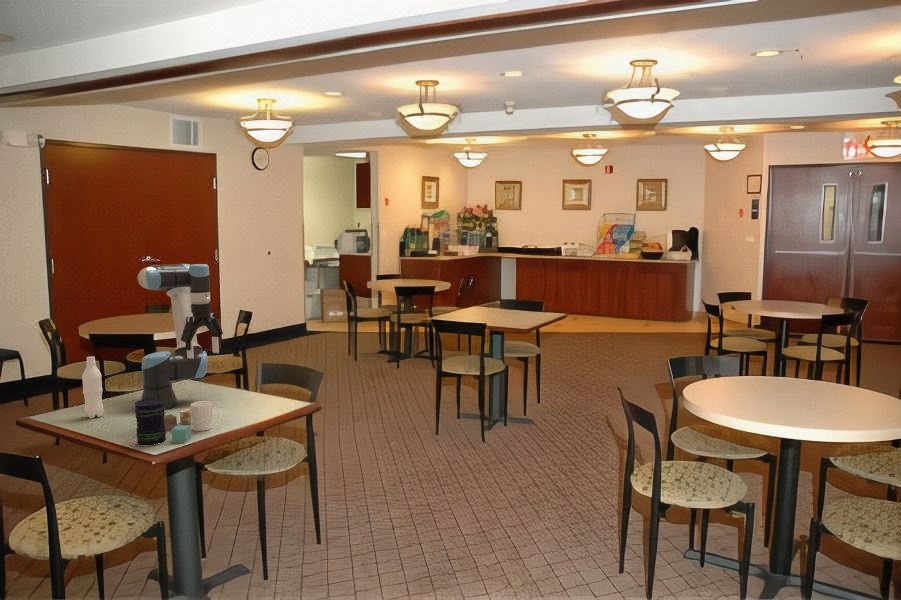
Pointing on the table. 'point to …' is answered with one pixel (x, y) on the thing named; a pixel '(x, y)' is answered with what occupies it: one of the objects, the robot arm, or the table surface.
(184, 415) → the maple block
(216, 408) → the table surface
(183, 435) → the teal block
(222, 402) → the table surface
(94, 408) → the water bottle
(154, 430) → the storage jar
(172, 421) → the walnut block
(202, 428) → the white cup
